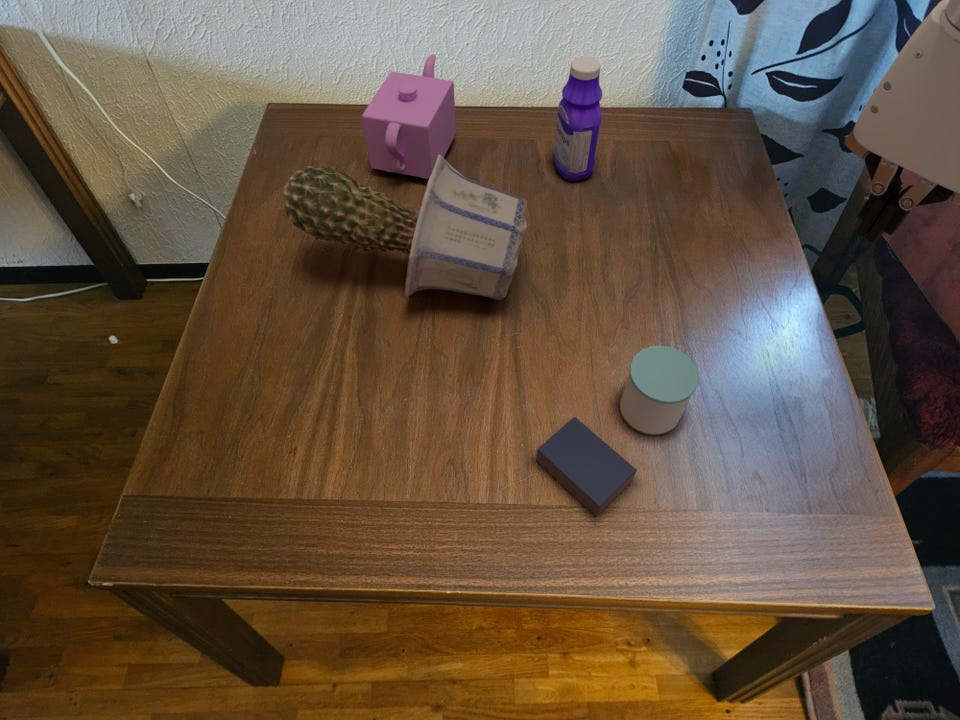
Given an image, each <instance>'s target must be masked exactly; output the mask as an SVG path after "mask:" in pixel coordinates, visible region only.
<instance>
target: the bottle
mask: <svg viewBox="0 0 960 720" xmlns="http://www.w3.org/2000/svg"><path fill="white" fill-rule="evenodd" d="M601 66H602V64H601V62H600V60H598V59H597V58H595V57H593V56H589V55H580V56H577V57H575V58H572V60H571V62H570V68H569V74H568V79H567V82H566V84H565V85H564V86H563V87H562V90H561V96H562V98H561V99H560V101H559V104H558V108H557V121H556V132H555V141H554V152H553V162H554V166H555V168H556V170H557V172H558V173H559V175H561V176H562V178H564V179H565V180H567V181H570V182H571V181H574V182H575V181H581V180H584V179H587V178H589V177H591V175H592V173H593V172H594V170H595V165H596V164H595V163H596V156H597V149H598V143H599V136H600V132H601V131H600V130H601V124H602V108H601V100H602V98H603V90H602V88H601V85H600V75H601V68H602V67H601Z"/></svg>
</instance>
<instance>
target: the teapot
mask: <svg viewBox="0 0 960 720" xmlns="http://www.w3.org/2000/svg"><path fill="white" fill-rule="evenodd" d="M436 60H437V56H436V55H435V54H430V55H429V56H428V57H427V58H426V60H425V62H424V65H423V71H422V74H421V75H417V74H411V73H404V72H398V71H390V72H389V74H388V75H387V76H386V78H385V80H384V81H383V82H382V84H381V85H380V86H379V88H378V90H377V91H376V93H375V94H374V96H373V98H372V99H371V101H370V102H369V104H368V105H367V107H366V108H365V110H364V111H363V113H362V115H361V122H362V123H361V124H362V128H363V133H364V138H365V144H366V149H367V154H368V160H369V166H370V169H375V170H379V171H385V172H387V173H396V174H401V175H407V176H413V177H416V178H417V177H418V178H421V179H424V180H429V178H430V176H431V174H432V171H433V168H434V166H435V163H436V160H437V157H438V155H441V156H442V157H443V158H444V159H445V156H446V154H447V152H448V150H449V148H450V146H451V144H452V142H453V141H454V138H455V136H456V134H457V123H456V104H455V103H456V101H455V84H454V80H448V79H442V78H436V77H435V65H436Z"/></svg>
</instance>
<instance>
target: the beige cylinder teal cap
mask: <svg viewBox="0 0 960 720" xmlns="http://www.w3.org/2000/svg"><path fill="white" fill-rule="evenodd" d="M699 383H700V373H699V370H698V367H697V365H696V364H695V362H694V361H693V360H692V358H690V356H688V355H687V354H686V353H684V352H683V351H681V350H679V349H678V348H675V347H672V346H667V345H652V346H647V347H644V348H643V349H641V350H640V351H638V352H637V353H636V354H635V355H634V357H633V358H632V360H631V362H630V366H629V373H628V375H627V379H626V383H625V386H624V388H623V392H622V395H621V398H620V402H619V413H620V416H621V418H622V420H623V422H624V423H625V424H626V425H627V426H628V427H629V428H630V429H631V430H633V431H635V432H636V433H638V434H640V435H643V436H648V437H660V436H663V435H666V434H668V433H670V432H672V431H673V430H674V429H675V428H676V427H677V425H678V423H679V421H680V419H681V417H682V415H683V414H684V411H685V409H686V407H687V405H688V403H689V401H690V399H691V397H692V396H693V395H694V394H695V392H696V391H697V388H698V386H699Z"/></svg>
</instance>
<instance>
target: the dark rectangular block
mask: <svg viewBox="0 0 960 720" xmlns="http://www.w3.org/2000/svg"><path fill="white" fill-rule="evenodd" d="M535 457H536V458H535V462H536V463H537V464H538V465H539V466H540V467H541V468H543V470H545V471H546V472H547V473H548V474H549V475H550V476H551V477H552V478H553V479H555V480H556V482H557V483H559V484H560V485H561V486H562V487H563V488H564V489H565V490H566V491H567V492H568V493H570V494H571V496H573V497H574V498H575V499H576V500H577V501H578V502H579V503H580V504H581V505H582V506H583V507H585V508H586V510H587V511H589V512H590V513H591V514H592V515H593V516H594V517H595V518H597V517H598V516H599V515H600V514H601V513H602V512H603V511H604V510H605V509H606V508H607V507H608V506H609V505H610V504H611V503H612V502H613V501H614V500H615V499H616V498H617V497H618V496H619V495H620V494H622V492H623V491H625V489H627V488H628V486H630V485H631V483H633V480H634V479H635V476H636V474H637V471H638V470H637V468H636V467H634V466H633V465H632V464H631V463H630V462H628V461H627V460H626V459H625V458H624V457H622V456H621V455H620V454H619V453H617V451H616V450H614V449H613V448H612V447H611V446H609V444H607V442H605V441H604V440H603V439H602V438H600V437H599V436H598V435H597V434H596V433H595V432H594V431H592V430H591V429H590V428H589V427H588V426H586V425H585V424H584V423H583V422H582V421H580V419H578V418H577V417H576V416H573V417H572V418H571V419H570V420H568V421H567V423H566V424H564V425H563V426H562V427H561V428H559V429H558V431H556V432H555V433H554V434H552V436H551V437H549V438H548V439H547V440H546V441H545V442H544V443H542V444H541V445H540V446H539V447H538V448H537V449H536V456H535Z"/></svg>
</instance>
